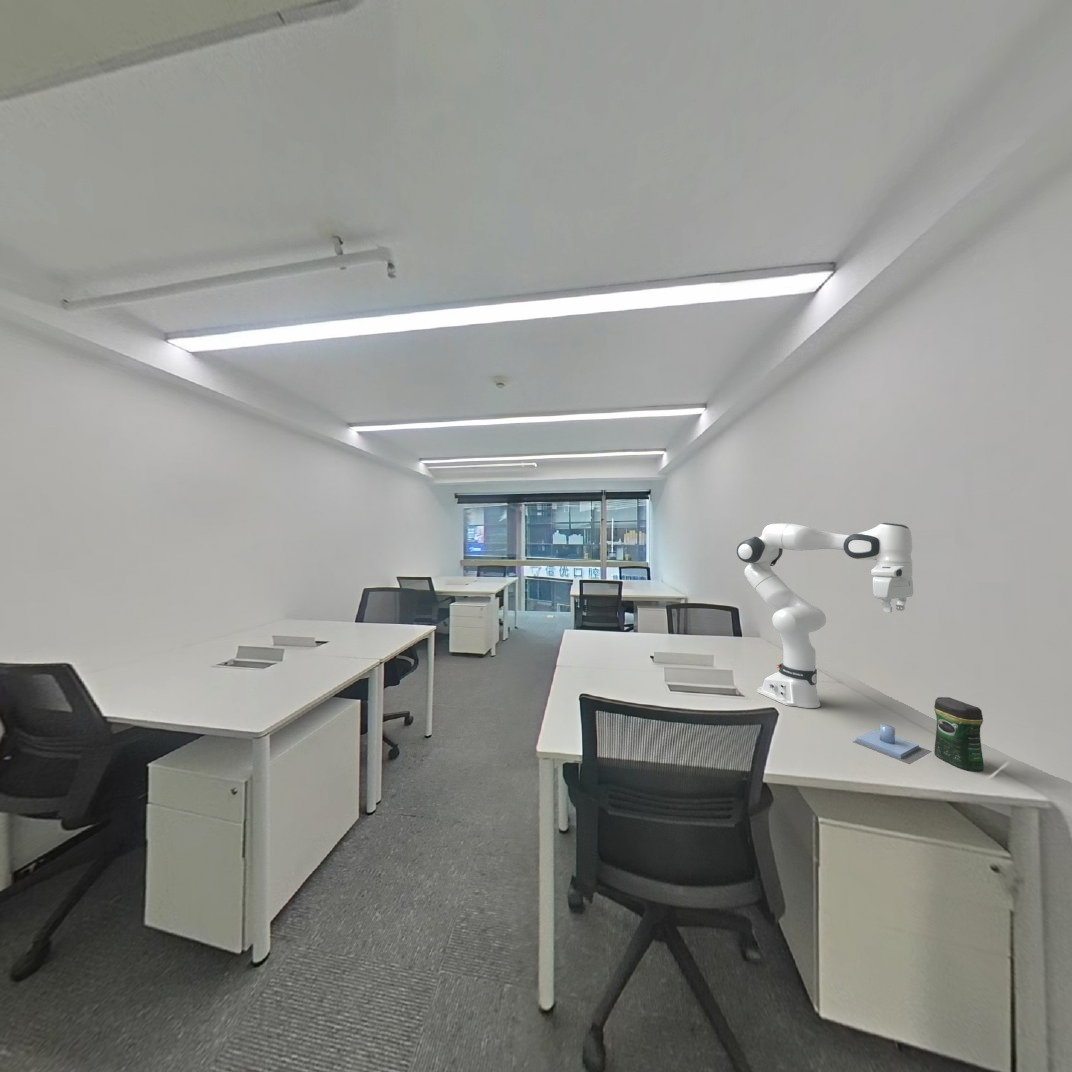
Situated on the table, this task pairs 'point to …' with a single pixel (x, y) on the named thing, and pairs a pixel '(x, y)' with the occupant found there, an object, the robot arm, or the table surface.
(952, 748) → the coffee jar
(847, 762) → the table surface
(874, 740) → the lid
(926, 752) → the mat
